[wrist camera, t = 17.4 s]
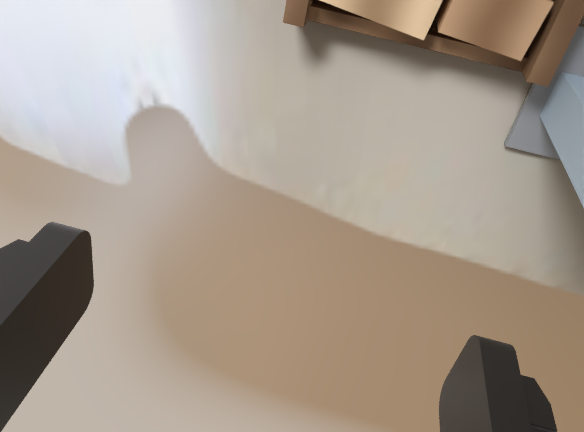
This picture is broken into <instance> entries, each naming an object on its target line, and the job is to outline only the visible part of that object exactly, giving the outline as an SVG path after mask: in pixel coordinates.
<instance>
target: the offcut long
mask: <svg viewBox="0 0 584 432" xmlns="http://www.w3.org/2000/svg"><path fill="white" fill-rule="evenodd" d="M320 1H323V2H326V3H328V4H331V5H333V6H336V7H338V8H341V9H344V10H346V11H349V12H351V13H354V14H357V15H359V16H362V17H364V18H367V19H370V20H372V21H375V22H377V23H380V24H382V25H385V26H388V27H390V28H393V29H395V30H398V31H401V32H403V33H406V34H408V35H411V36H413V37H416V38H419V39H421V40H424V39H425V37H426V35H427V32H428V30H429V28H430V26H431V24H432V22H433V20H434V18H435V16H436V13H437V11H438V9H439V7H440V5H441V3H442V1H443V0H320Z"/></svg>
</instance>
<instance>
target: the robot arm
mask: <svg viewBox="0 0 584 432" xmlns="http://www.w3.org/2000/svg"><path fill="white" fill-rule="evenodd" d="M93 287H94V280H93V263H92V246H91V236H90V234H89V232H88V231H85V230H81V229H77V228H73V227H70V226H66V225H62V224H58V223H54V222H50V223H48V224H46V225H45V226H44V227H43V228H42V229H41V230H40V231H39V232H38V233H37V234H36V235H35V236H34V237H33V238H32V239H31V241H30V242H26V241H23V240H19V239H18V240H17V241H14V242H12V243H10V244H9V245H6V246H5V247H3V248H1V249H0V432H1V431H2V429H3V428H4V426H5V425H6V424H7V422H8V421H9V419H10V418H11V416H12V415H13V414H14V412H15V411H16V409H17V408H18V406H19V405H20V404H21V402H22V401H23V399H24V398H25V396H26V395H27V394H28V392H29V391H30V389H31V388H32V386H33V385H34V384H35V382H36V381H37V379H38V378H39V376H40V375H41V374H42V372H43V371H44V369H45V368H46V366H47V365H48V364H49V362H50V361H51V359H52V358H53V357H54V355H55V354H56V352H57V351H58V349H59V348H60V346H61V345H62V344H63V342H64V341H65V339H66V338H67V337H68V335H69V334H70V332H71V331H72V329H73V328H74V327H75V325H76V324H77V322H78V321H79V319H80V318H81V317H82V315H83V314H84V312H85V311H86V309H87V307H88V304H89V302H90V300H91V297H92V293H93ZM439 419H440V432H557V429H556V424H555V420H554V416H553V412H552V408H551V404H550V403H549V401H548V399H547V398H546V396H545V395H544V393H543V392H542V390H541V388H540V387H539V385H538V384H537V382H536V381H535V379H534V378H530V377H527V376H523V375H520V370H519V365H518V360H517V356H516V351H515V349H514V347H513V346H512V345H510V344H506V343H502V342H499V341H495V340H491V339H487V338H484V337H480V336H476V335H473V336H471V337H470V338H469V340H468V341H467V343H466V345H465V347H464V348H463V350H462V352H461V353H460V355H459V357H458V359H457V360H456V362H455V364H454V366H453V367H452V369H451V371H450V373H449V374H448V376H447V378H446V380H445V382H444V384H443V387H442V391H441V395H440V402H439Z"/></svg>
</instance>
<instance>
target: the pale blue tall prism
mask: <svg viewBox="0 0 584 432" xmlns="http://www.w3.org/2000/svg"><path fill="white" fill-rule="evenodd" d="M540 118H541V120H542V122H543V124H544V126H545V128H546V130H547V132H548V134H549V136H550V138H551V141H552V143H553V145H554V147H555V149H556V151H557V153H558V155H559V157H560V159H561V161H562V164H563V166H564V168H565V170H566V172H567V174H568V176H569V178H570V180H571V182H572V184H573V187H574V189H575V191H576V193H577V195H578V197H579V199H580V201H581V203H582V205H583V207H584V77H581V76H577V75H573V74H568V73H564V72H561V74H560V76H559V78H558V80H557V82H556V84H555V86H554V88H553V90H552V92H551V94H550V96H549V98H548V100H547V102H546V104H545V106H544V108H543V110H542V112H541V114H540Z"/></svg>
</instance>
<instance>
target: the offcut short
mask: <svg viewBox="0 0 584 432" xmlns="http://www.w3.org/2000/svg"><path fill="white" fill-rule="evenodd" d="M553 3H554V2H553V1H552V0H444V1H443V3H442V5H441V7H440V10H439V12H438V14H437V16H436V20H437V26H438V32H440V33H442V34H445V35H448V36H451V37H454V38H457V39H459V40H462V41H465V42H468V43H471V44H474V45H476V46H479V47H482V48H485V49H488V50H491V51H494V52H496V53H499V54H502V55H505V56H508V57H511V58H513V59H516V60H519V61H521V60H522V58H523V57H524V55H525V53H526V51H527V49H528V48H529V46H530V44H531V42H532V41H533V39H534V37H535V35H536V34H537V32H538V30H539V28H540V26H541V25H542V23H543V21H544V19H545V18H546V16H547V14H548V12H549V11H550V9H551V7H552V5H553Z"/></svg>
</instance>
